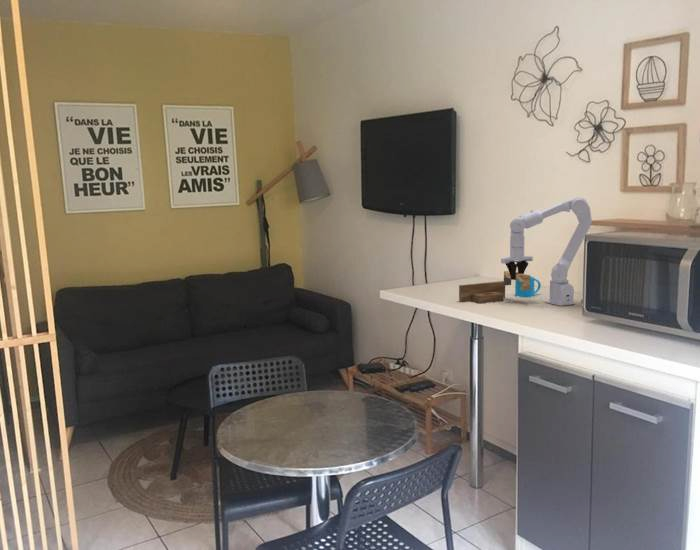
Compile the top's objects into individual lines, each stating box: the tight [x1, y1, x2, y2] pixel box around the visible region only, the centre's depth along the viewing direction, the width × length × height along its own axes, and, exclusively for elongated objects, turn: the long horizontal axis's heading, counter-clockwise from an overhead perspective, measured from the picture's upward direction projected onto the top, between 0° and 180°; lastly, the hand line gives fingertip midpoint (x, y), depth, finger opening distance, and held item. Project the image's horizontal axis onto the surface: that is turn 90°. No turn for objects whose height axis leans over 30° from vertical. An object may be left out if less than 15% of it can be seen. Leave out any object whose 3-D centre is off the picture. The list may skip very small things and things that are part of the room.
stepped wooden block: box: [458, 280, 506, 304], centre depth 270 cm, size 8×22×7 cm, turn 112°
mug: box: [514, 275, 542, 298], centre depth 280 cm, size 12×8×8 cm
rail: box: [503, 270, 531, 290], centre depth 266 cm, size 14×3×6 cm, turn 21°
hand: (516, 279), depth 266 cm, fingers closed on rail, 3 cm apart
